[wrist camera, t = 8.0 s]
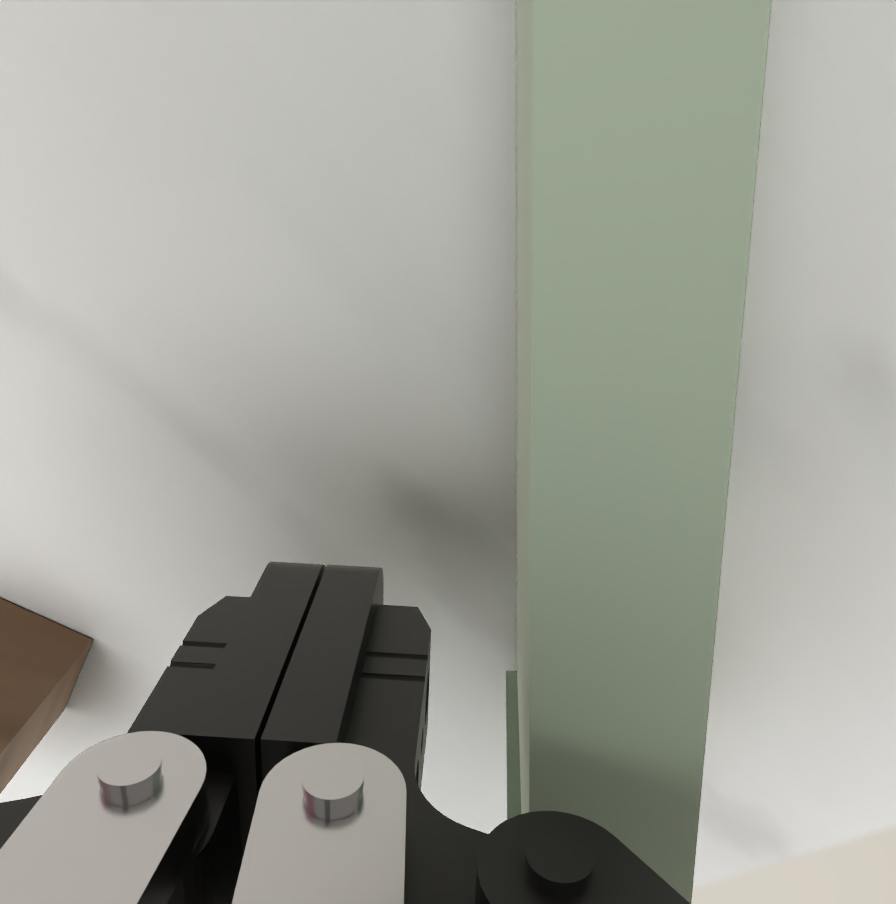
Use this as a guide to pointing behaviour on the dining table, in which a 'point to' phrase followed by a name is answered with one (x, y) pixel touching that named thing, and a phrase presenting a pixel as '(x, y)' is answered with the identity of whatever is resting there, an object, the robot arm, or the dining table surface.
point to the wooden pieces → (33, 681)
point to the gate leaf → (626, 399)
